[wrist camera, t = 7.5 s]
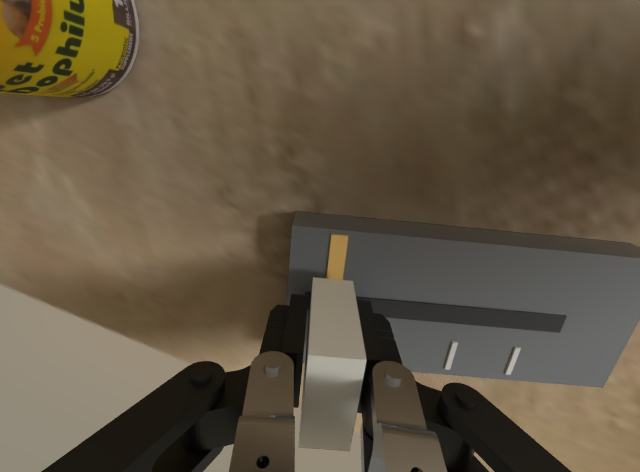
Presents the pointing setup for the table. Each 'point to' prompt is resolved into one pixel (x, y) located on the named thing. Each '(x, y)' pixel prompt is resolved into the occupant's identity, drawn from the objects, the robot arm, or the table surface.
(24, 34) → the supplement bottle
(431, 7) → the table surface
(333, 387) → the block
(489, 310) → the console
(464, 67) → the table surface
